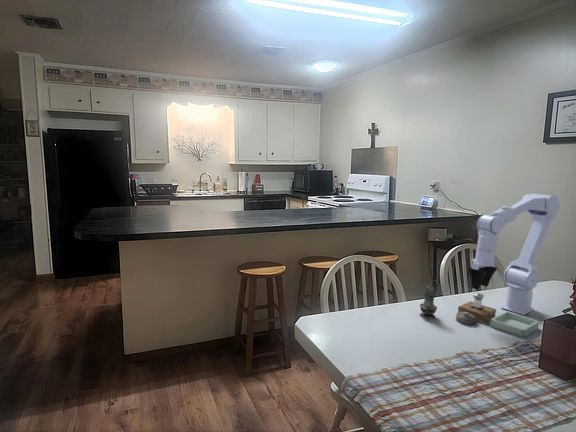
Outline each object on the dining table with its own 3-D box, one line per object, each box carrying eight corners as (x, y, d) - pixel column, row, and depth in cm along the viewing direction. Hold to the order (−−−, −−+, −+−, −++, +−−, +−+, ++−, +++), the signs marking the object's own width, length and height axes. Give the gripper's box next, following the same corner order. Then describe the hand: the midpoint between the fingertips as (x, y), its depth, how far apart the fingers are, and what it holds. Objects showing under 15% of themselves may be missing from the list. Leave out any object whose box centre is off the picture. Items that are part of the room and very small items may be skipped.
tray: (505, 317, 132) (506, 311, 132) (538, 328, 124) (539, 321, 124) (489, 326, 125) (490, 319, 124) (523, 338, 117) (524, 330, 116)
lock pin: (473, 313, 136) (476, 292, 134) (482, 316, 133) (485, 294, 132) (469, 315, 134) (471, 294, 132) (478, 318, 131) (481, 296, 130)
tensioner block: (469, 308, 140) (470, 301, 139) (495, 317, 133) (496, 309, 132) (448, 318, 130) (449, 310, 130) (474, 328, 123) (475, 319, 123)
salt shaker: (437, 320, 128) (441, 287, 127) (420, 318, 130) (422, 285, 128) (434, 313, 134) (437, 281, 132) (417, 312, 135) (420, 280, 134)
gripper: (482, 245, 138) (476, 281, 139) (465, 248, 128) (459, 286, 129) (502, 250, 132) (496, 286, 134) (487, 253, 123) (480, 292, 124)
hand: (479, 287), depth 131 cm, fingers open, 7 cm apart
